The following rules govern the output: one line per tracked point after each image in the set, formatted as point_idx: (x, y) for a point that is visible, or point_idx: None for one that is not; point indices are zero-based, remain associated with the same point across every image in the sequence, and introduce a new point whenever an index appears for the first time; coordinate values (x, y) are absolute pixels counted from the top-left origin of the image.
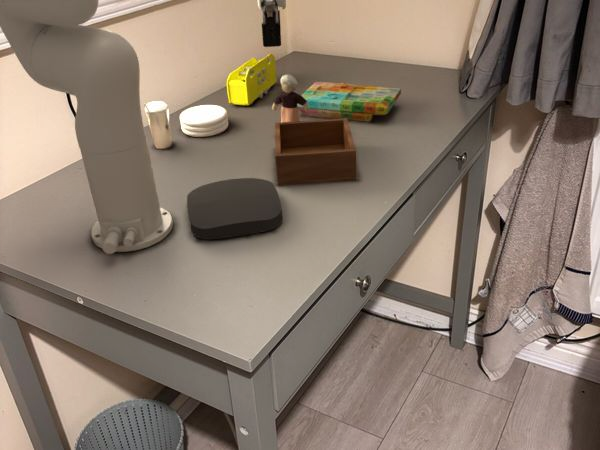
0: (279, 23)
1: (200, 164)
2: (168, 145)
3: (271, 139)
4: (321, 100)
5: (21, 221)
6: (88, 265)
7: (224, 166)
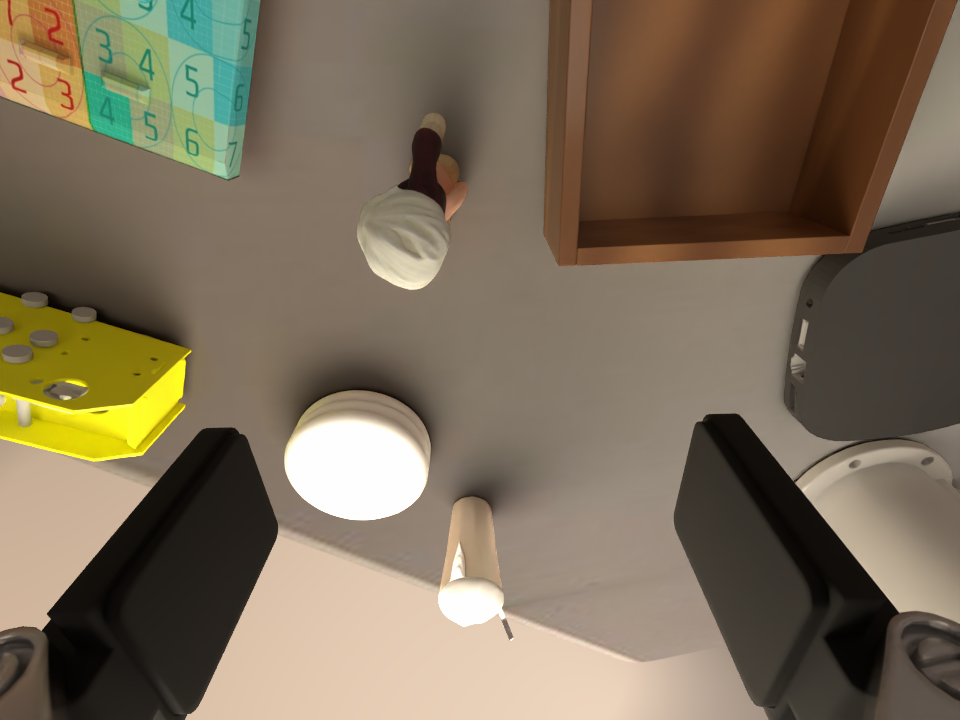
0: (875, 598)
1: (594, 425)
2: (484, 502)
3: (458, 256)
4: (224, 42)
5: None
6: None
7: (622, 372)
